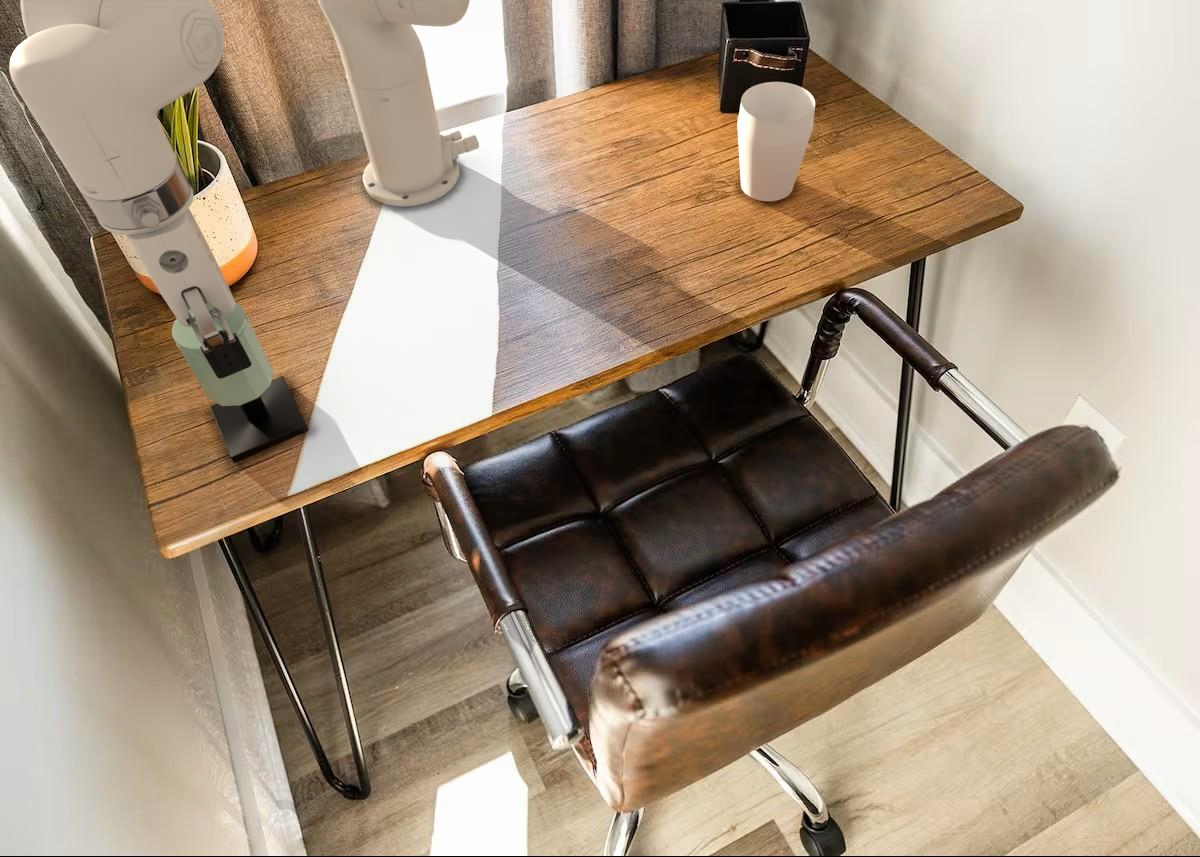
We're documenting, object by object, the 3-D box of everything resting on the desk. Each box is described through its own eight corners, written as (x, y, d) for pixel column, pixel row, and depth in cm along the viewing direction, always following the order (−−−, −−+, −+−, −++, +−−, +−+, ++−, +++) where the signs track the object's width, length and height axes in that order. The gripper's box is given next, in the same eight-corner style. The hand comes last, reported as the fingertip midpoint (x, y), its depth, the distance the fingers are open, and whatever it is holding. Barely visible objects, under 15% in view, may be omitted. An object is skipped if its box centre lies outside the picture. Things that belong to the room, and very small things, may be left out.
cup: (720, 196, 114) (727, 112, 104) (747, 158, 119) (756, 74, 109) (787, 216, 111) (801, 131, 102) (812, 175, 116) (827, 91, 106)
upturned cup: (261, 346, 91) (233, 288, 85) (281, 388, 88) (254, 330, 81) (197, 372, 89) (164, 315, 83) (215, 415, 86) (181, 359, 79)
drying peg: (285, 381, 97) (239, 285, 86) (309, 430, 93) (265, 336, 82) (212, 411, 95) (156, 317, 84) (234, 463, 90) (177, 371, 79)
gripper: (214, 233, 67) (287, 380, 81) (159, 121, 76) (232, 270, 90) (113, 271, 65) (205, 415, 79) (69, 150, 74) (158, 298, 88)
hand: (220, 337), depth 84 cm, fingers open, 9 cm apart
